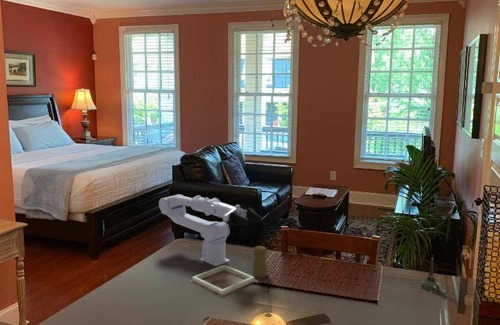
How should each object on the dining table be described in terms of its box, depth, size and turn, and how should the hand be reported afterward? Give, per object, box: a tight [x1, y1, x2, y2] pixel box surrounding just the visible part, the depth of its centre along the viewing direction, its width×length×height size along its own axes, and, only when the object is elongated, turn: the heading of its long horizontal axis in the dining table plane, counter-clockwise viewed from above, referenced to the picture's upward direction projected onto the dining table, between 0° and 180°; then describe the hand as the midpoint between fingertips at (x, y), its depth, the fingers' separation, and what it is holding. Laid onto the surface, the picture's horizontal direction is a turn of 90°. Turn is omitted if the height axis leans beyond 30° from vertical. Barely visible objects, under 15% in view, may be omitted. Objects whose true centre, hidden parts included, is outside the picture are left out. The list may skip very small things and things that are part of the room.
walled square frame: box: [191, 264, 256, 295], centre depth 169 cm, size 16×16×2 cm
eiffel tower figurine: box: [414, 256, 451, 300], centre depth 165 cm, size 15×10×13 cm
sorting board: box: [188, 270, 259, 298], centre depth 169 cm, size 18×18×1 cm
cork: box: [251, 245, 268, 278], centre depth 175 cm, size 6×6×11 cm
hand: (254, 221), depth 172 cm, fingers open, 7 cm apart
